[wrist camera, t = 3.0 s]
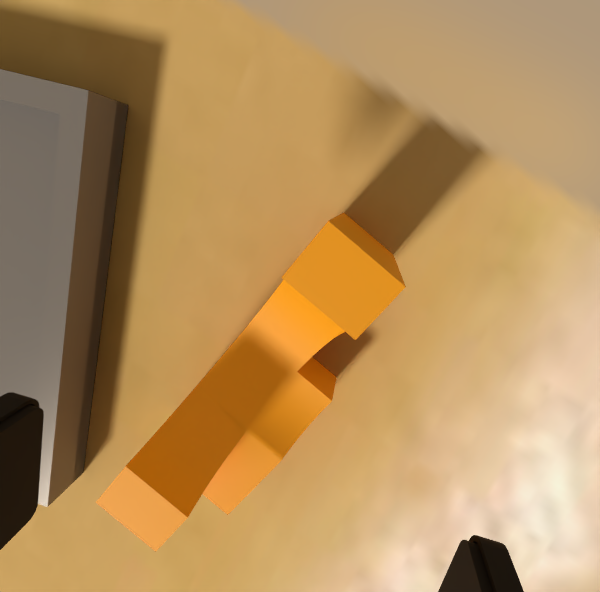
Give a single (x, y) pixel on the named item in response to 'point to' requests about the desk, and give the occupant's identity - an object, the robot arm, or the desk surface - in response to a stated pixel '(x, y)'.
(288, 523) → the desk surface
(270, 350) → the orange blocky piece
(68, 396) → the parts tray
